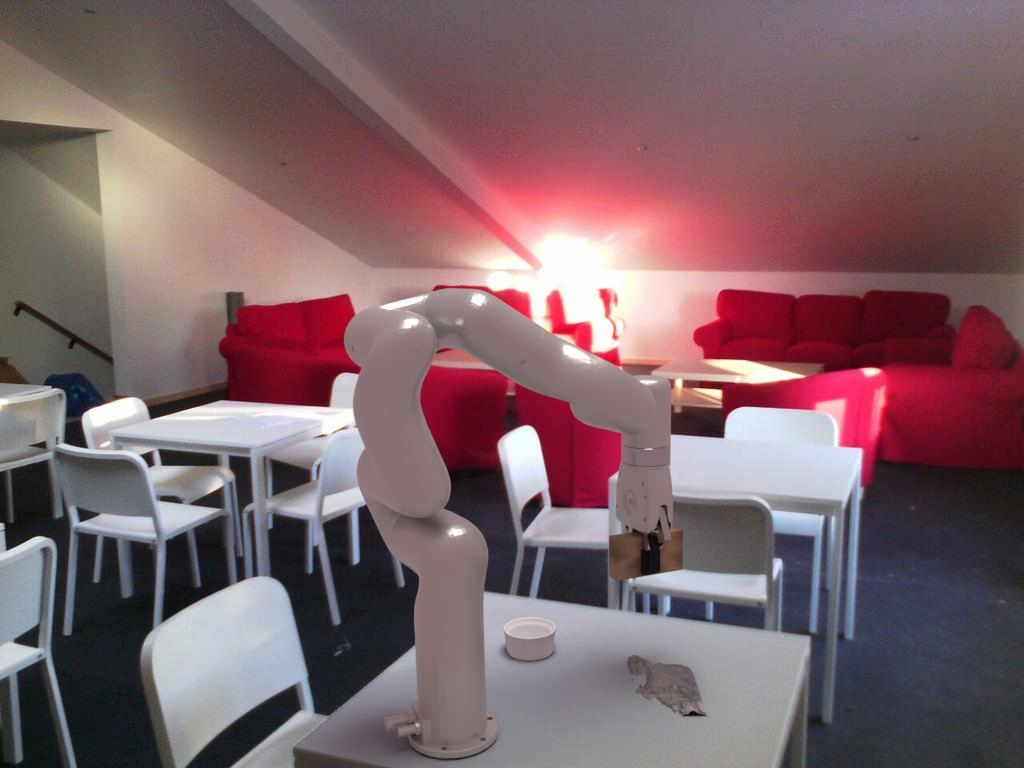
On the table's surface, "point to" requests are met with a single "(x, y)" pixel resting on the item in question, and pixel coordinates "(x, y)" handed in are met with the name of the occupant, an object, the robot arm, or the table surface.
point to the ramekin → (529, 638)
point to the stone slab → (668, 685)
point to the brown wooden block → (628, 554)
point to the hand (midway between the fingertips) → (644, 569)
